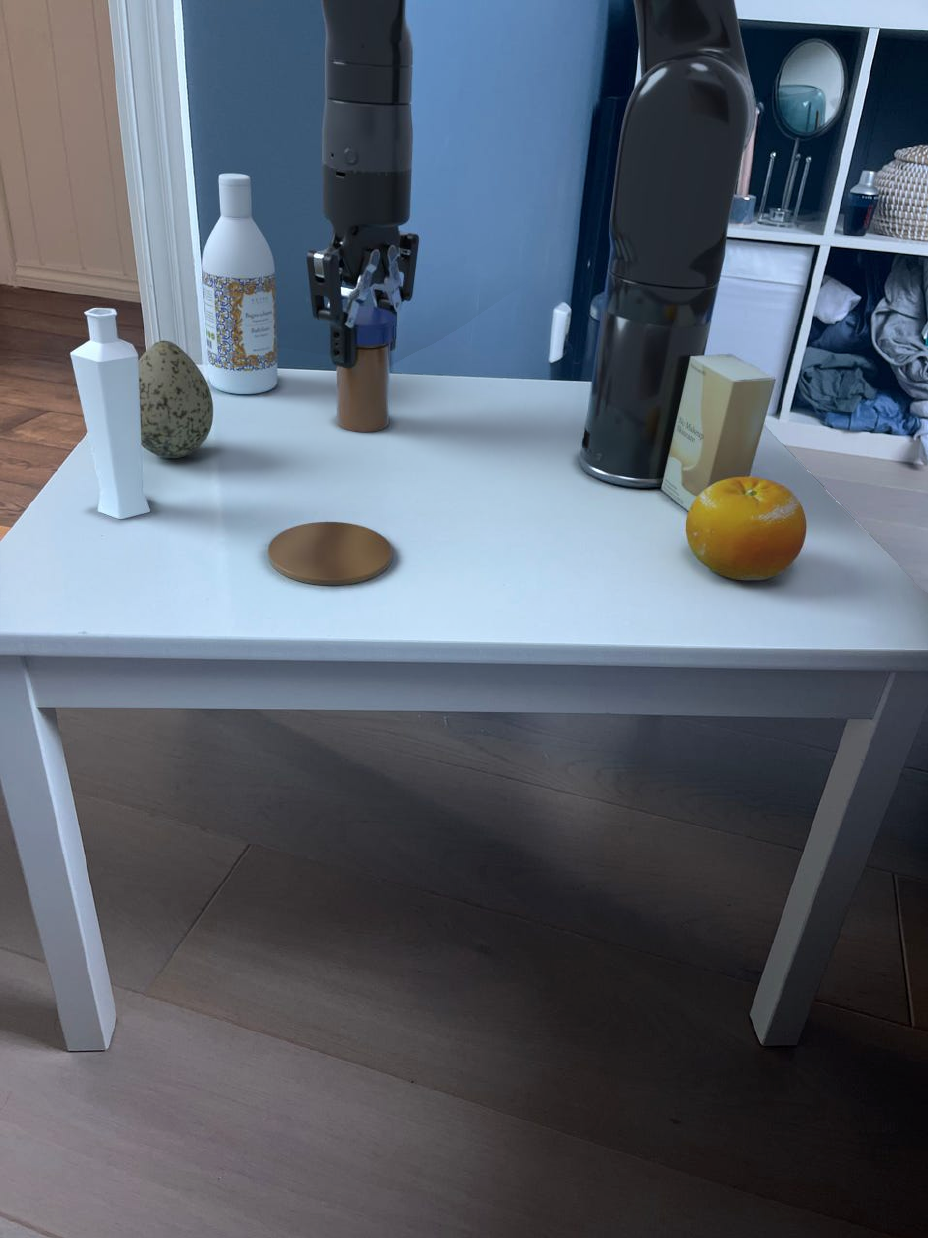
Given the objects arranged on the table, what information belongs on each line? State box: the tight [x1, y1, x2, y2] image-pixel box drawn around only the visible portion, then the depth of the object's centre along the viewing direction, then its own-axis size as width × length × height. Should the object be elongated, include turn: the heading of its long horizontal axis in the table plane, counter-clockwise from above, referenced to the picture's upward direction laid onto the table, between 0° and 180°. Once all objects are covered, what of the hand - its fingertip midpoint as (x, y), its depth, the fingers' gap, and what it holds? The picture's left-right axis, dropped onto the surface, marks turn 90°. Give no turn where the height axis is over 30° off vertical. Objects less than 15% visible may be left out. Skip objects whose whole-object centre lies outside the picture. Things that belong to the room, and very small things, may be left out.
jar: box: [335, 342, 391, 433], centre depth 92 cm, size 5×5×10 cm
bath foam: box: [201, 173, 278, 395], centre depth 96 cm, size 7×7×20 cm
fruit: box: [685, 476, 808, 581], centre depth 73 cm, size 8×8×8 cm
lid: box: [343, 305, 397, 346], centre depth 89 cm, size 6×6×2 cm
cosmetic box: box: [661, 353, 777, 512], centre depth 81 cm, size 6×4×12 cm
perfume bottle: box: [69, 307, 151, 520], centre depth 71 cm, size 5×4×15 cm
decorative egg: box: [138, 340, 214, 459], centre depth 82 cm, size 7×7×10 cm
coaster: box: [267, 521, 393, 586], centre depth 71 cm, size 9×9×1 cm
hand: (364, 357), depth 91 cm, fingers closed on lid, 6 cm apart
